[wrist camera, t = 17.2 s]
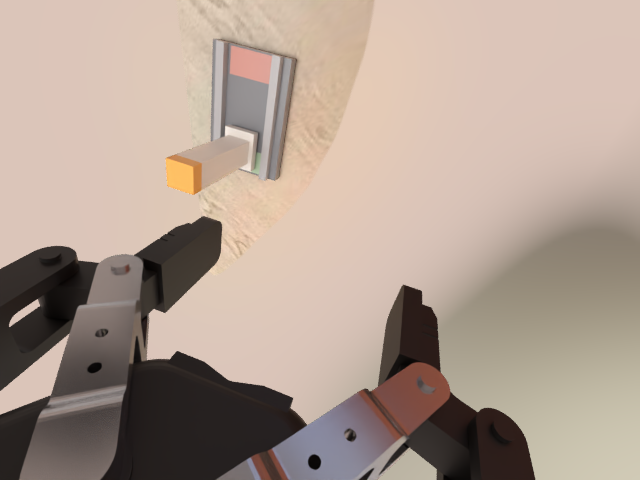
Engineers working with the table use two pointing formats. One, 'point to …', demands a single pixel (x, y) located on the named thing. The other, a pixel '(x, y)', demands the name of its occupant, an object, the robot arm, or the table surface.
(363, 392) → the robot arm
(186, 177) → the switch handle
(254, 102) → the switch panel
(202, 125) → the table surface
